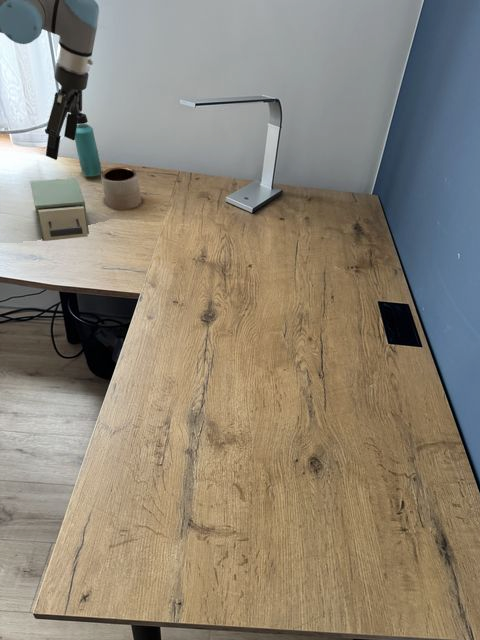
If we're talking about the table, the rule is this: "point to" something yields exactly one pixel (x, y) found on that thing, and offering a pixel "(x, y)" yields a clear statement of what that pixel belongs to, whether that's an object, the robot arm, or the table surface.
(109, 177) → the planter
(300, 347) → the table surface
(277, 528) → the table surface
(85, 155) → the beverage bottle
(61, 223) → the drawer
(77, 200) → the green drawer cabinet
